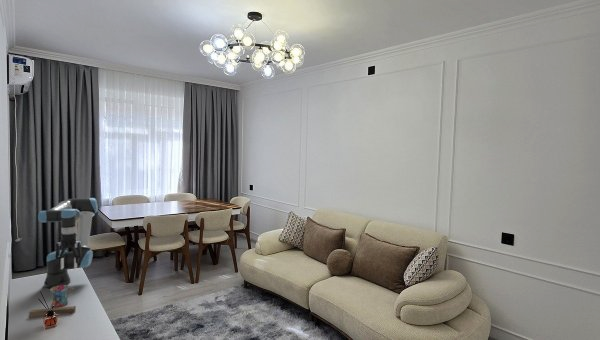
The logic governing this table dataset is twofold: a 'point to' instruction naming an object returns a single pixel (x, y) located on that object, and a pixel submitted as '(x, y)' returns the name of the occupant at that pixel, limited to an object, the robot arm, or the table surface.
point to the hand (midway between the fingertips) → (69, 268)
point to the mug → (60, 295)
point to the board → (57, 310)
